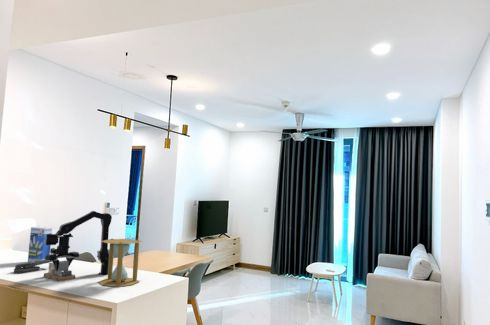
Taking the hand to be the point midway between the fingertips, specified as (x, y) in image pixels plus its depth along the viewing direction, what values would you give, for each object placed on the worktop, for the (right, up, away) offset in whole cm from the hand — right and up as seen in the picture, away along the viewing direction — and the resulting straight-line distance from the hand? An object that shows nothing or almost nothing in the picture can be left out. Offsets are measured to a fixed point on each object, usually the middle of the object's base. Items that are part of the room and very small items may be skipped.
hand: (61, 270), depth 219 cm
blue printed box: (-40, -8, +43) cm, 59 cm away
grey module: (0, -1, 0) cm, 1 cm away
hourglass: (+37, -6, -6) cm, 38 cm away
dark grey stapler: (-27, -6, +18) cm, 33 cm away
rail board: (-2, -5, +1) cm, 5 cm away
